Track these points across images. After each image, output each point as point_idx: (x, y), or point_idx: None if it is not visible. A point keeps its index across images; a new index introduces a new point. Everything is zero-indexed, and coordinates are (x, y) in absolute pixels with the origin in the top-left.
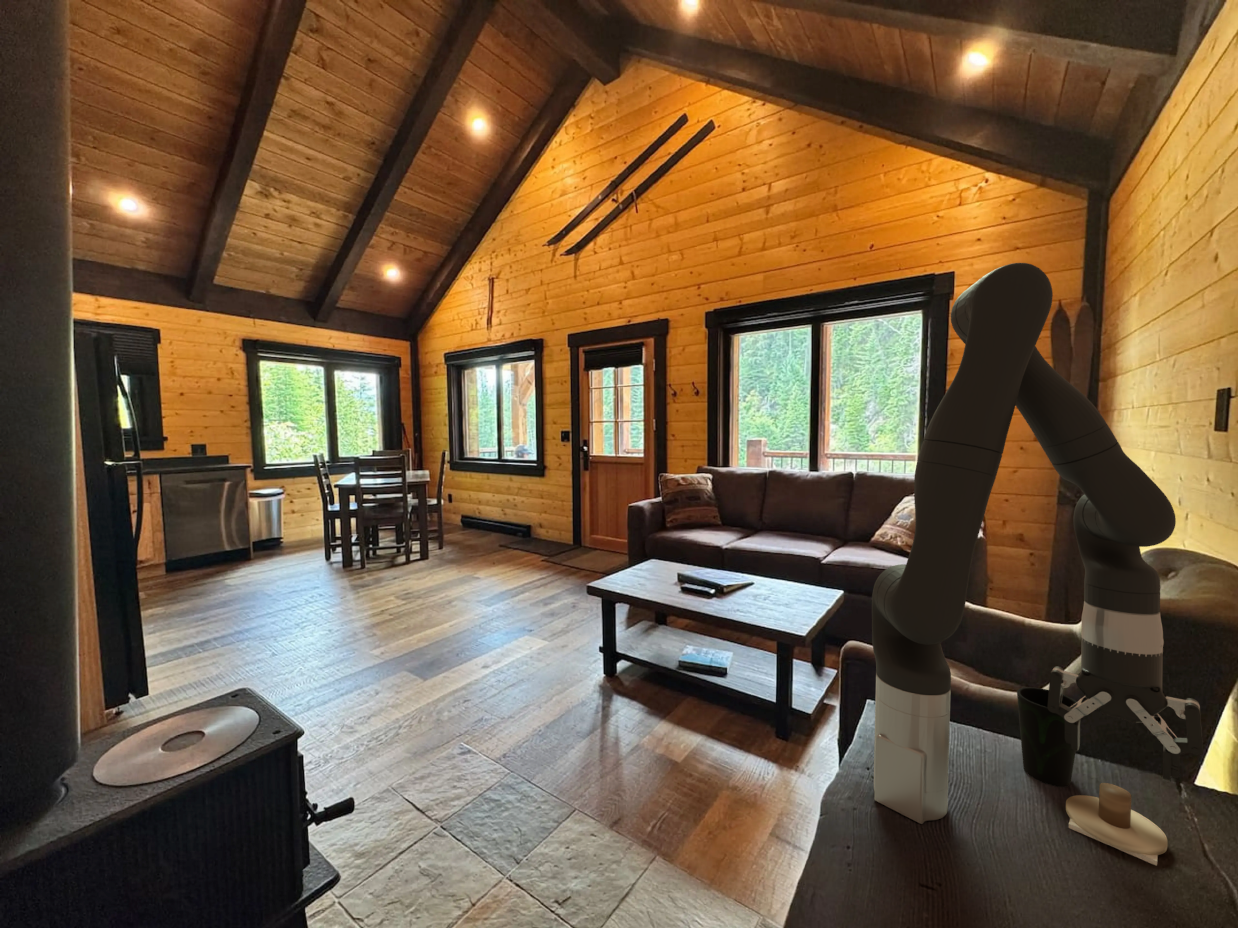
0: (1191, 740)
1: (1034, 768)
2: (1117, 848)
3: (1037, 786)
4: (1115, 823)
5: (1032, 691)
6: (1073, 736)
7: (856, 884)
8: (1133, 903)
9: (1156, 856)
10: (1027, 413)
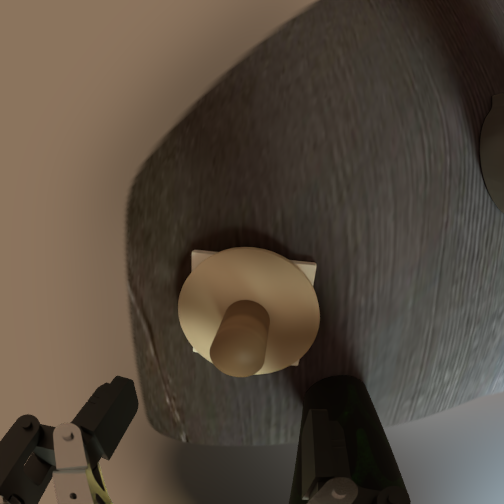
0: (19, 444)
1: (358, 389)
2: None
3: (353, 358)
4: (244, 303)
5: None
6: (324, 439)
7: None
8: (225, 107)
9: (193, 266)
10: None
